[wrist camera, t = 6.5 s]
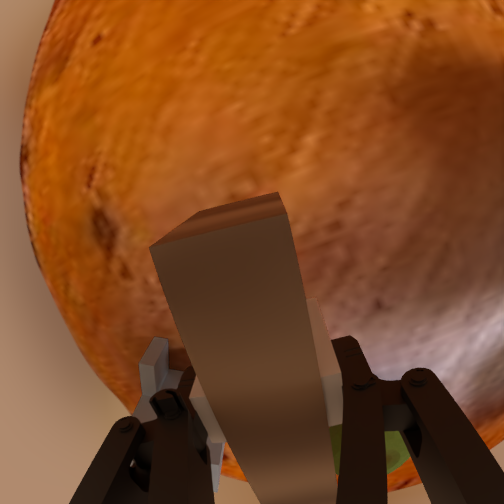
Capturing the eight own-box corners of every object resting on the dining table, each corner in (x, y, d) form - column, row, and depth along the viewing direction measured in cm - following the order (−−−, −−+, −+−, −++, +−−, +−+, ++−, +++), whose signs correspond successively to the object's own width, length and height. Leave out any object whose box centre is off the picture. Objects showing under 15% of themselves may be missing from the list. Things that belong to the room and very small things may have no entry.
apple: (395, 359, 31) (429, 418, 21) (407, 413, 33) (432, 468, 24) (305, 395, 32) (315, 463, 23) (331, 444, 35) (342, 503, 25)
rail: (198, 211, 15) (148, 247, 9) (277, 191, 15) (287, 213, 8) (275, 451, 20) (275, 528, 13) (328, 441, 20) (341, 518, 13)
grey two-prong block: (154, 336, 31) (98, 434, 17) (234, 348, 31) (217, 460, 17) (158, 398, 33) (120, 492, 20) (229, 409, 33) (214, 512, 19)
